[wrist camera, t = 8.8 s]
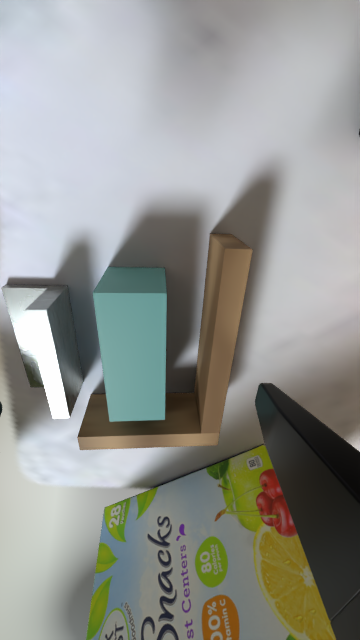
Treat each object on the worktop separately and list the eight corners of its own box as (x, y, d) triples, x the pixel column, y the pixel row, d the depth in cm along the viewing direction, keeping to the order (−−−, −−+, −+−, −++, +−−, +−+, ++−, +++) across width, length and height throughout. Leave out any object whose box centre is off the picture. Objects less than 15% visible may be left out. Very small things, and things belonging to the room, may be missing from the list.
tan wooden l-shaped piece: (231, 234, 18) (252, 249, 14) (208, 403, 25) (217, 445, 21) (65, 227, 17) (37, 241, 13) (92, 406, 24) (80, 450, 20)
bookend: (67, 285, 19) (46, 310, 15) (83, 381, 23) (69, 418, 19) (5, 284, 18) (-31, 309, 15) (33, 382, 22) (10, 419, 19)
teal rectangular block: (164, 267, 19) (166, 293, 14) (163, 375, 23) (164, 419, 19) (108, 266, 18) (92, 293, 14) (118, 375, 23) (109, 421, 19)
